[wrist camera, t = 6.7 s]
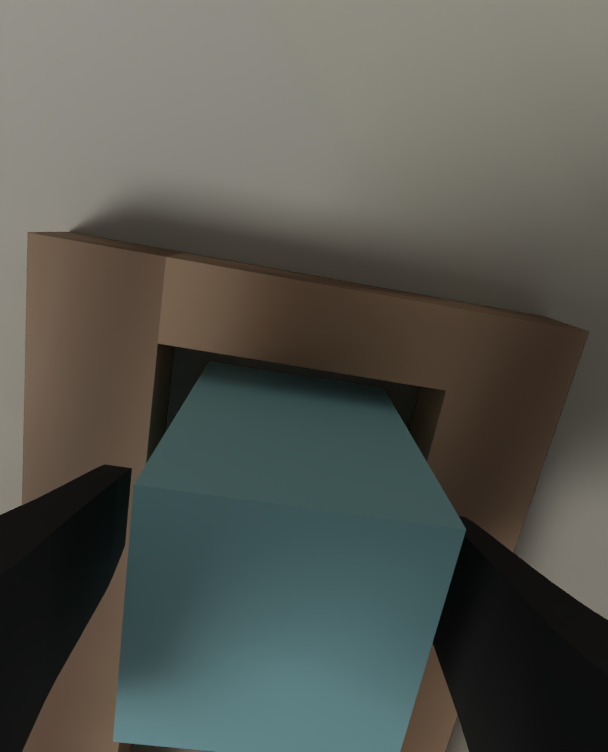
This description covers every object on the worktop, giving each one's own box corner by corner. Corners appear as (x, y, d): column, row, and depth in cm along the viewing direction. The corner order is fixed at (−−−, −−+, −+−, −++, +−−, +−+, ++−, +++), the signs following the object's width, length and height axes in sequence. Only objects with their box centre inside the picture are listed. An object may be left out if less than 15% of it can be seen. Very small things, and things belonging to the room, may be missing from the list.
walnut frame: (547, 317, 14) (588, 331, 12) (387, 822, 19) (398, 888, 17) (67, 232, 13) (27, 232, 11) (43, 789, 18) (14, 855, 16)
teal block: (383, 387, 14) (466, 529, 8) (350, 537, 16) (395, 769, 9) (209, 360, 14) (133, 484, 7) (190, 516, 15) (113, 741, 9)
